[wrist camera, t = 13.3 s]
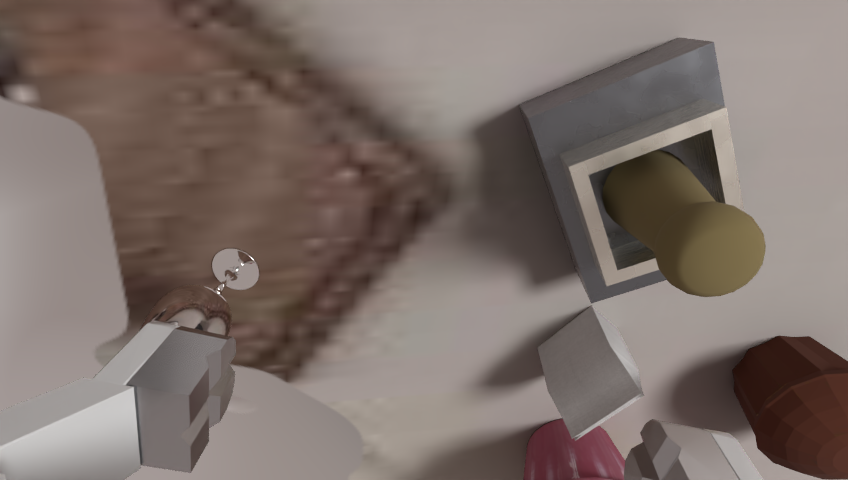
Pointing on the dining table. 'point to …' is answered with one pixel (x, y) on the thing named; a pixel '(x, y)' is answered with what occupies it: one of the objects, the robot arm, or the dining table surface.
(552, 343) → the white box
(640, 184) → the cork
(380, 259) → the dining table surface
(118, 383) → the robot arm
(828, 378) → the muffin
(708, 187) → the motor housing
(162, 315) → the wineglass
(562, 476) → the plant pot
